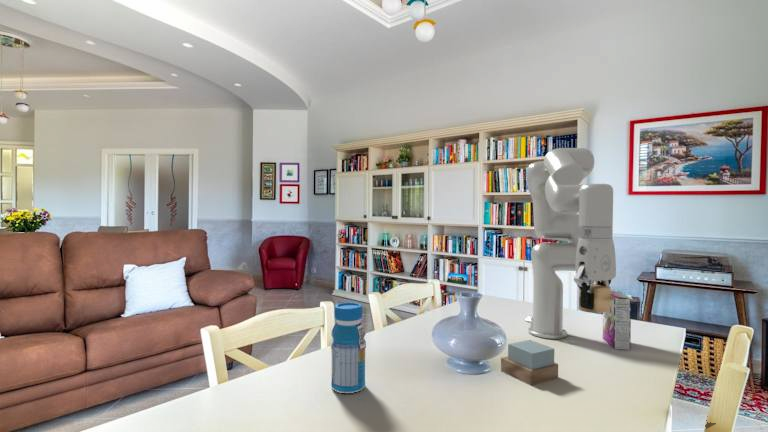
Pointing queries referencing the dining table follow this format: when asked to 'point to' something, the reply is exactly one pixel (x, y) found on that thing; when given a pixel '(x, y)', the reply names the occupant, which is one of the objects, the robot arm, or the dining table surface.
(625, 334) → the candy bar box
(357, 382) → the beverage bottle
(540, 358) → the slate-grey block
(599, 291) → the oak block
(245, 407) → the dining table surface
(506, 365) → the walnut slab
